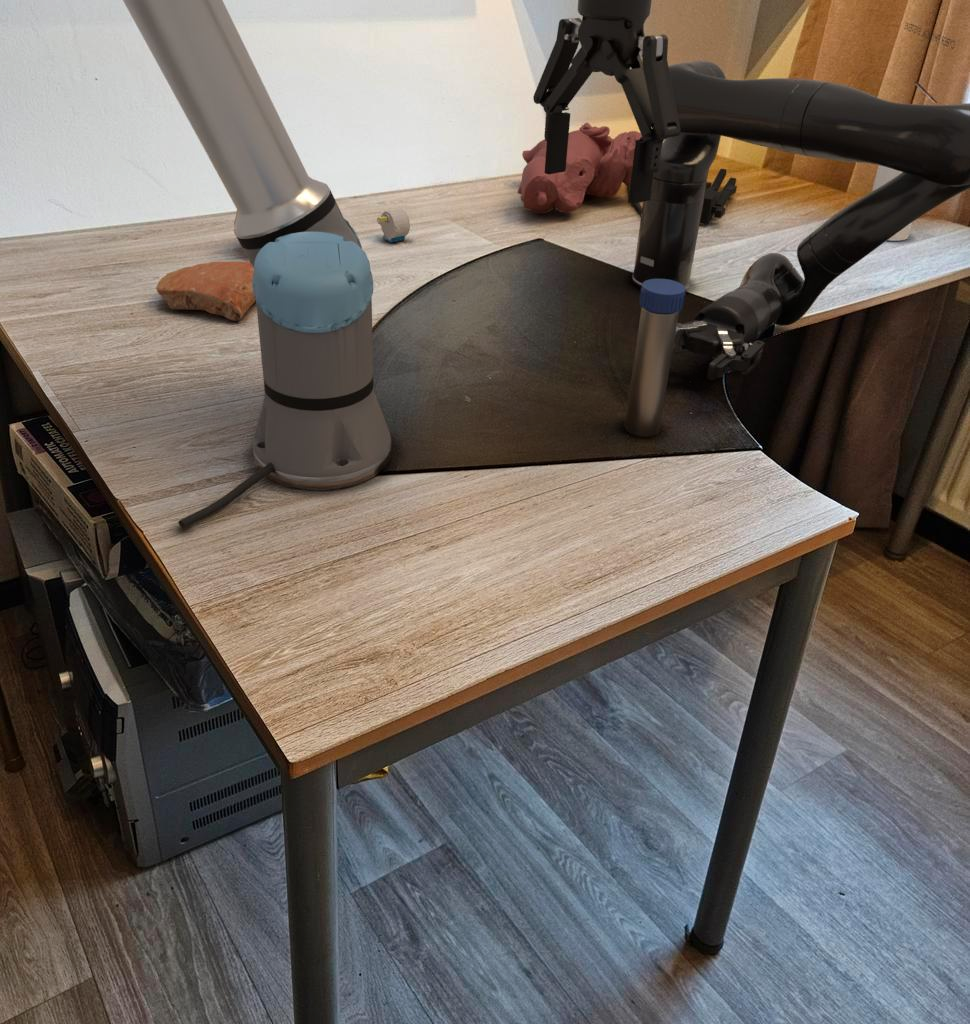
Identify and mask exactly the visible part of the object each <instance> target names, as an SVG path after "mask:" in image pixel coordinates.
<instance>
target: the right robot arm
mask: <svg viewBox="0 0 970 1024" xmlns="http://www.w3.org/2000/svg"><path fill="white" fill-rule="evenodd" d="M668 67H669V72H670V77H671V82H672V87H673V93H674V98H675V103H676V108H677V113H678V118H679V124H680V129H681V132H680V134H679V136H676V137H671V138H667V139H665V140H664V141H663V143H662V149H661V157H660V164H659V168H658V171H657V172H654V175H653V182H652V189H651V197H650V200H649V201H645V202H642V205H641V204H640V203H636V204H633V205H634V206H635V208H636V210H637V211H638V212H639V214H640V222H639V228H638V229H639V230H638V236H637V245H636V252H635V258H634V265H633V272H632V275H631V281H632V283H633V284H634V285H635V286H636V287H638V288H640V289H641V288H642V283H643V282H644V281H646V280H650V279H668V280H673V281H676V282H679V283H681V284H682V285H684V286H685V288H686V290H688V289H689V288H690V285H691V276H692V270H693V264H694V259H695V254H696V249H697V248H696V247H697V242H698V235H699V231H700V225H701V224H700V218H701V212H702V207H703V201H704V194H705V188H706V182H708V176H709V172H710V168H711V166H712V165H713V163H714V161H715V159H716V157H717V154H718V151H719V146H720V143H721V137H725V138H730V139H734V140H737V141H741V142H744V143H748V144H751V145H754V146H755V145H756V146H759V147H763V148H768V149H772V150H773V149H774V150H777V151H781V152H785V153H790V154H795V155H799V156H803V157H809V158H814V159H815V158H816V159H823V160H828V161H829V160H830V161H836V162H838V161H839V162H845V163H846V162H847V163H861V164H870V165H871V164H872V165H876V166H879V165H880V166H884V167H888V168H891V169H894V170H898V171H901V172H902V173H901V174H899V175H898V176H896V177H895V178H893V179H892V180H890V181H889V182H887V183H886V184H884V185H882V186H881V187H879V188H877V189H876V190H874V191H872V190H871V191H870V192H869V193H867V194H865V195H864V196H862V197H860V198H858V199H857V200H855V201H853V202H851V203H850V204H848V205H846V206H845V207H844V208H842V209H841V210H839V211H838V212H836V213H835V214H834V215H832V216H831V217H830V218H828V219H827V220H826V221H825V222H824V223H822V224H821V225H820V226H819V227H817V228H816V229H814V231H812V232H811V233H810V234H808V235H807V236H806V237H805V238H803V239H802V240H801V242H800V243H798V245H797V247H796V258H797V261H798V263H799V266H800V269H801V271H802V274H803V277H802V275H801V274H800V273H799V272H798V271H797V269H796V267H795V266H794V265H793V264H792V262H791V261H790V260H789V258H788V257H787V256H786V255H783V254H782V253H777V252H770V253H767V254H764V255H762V256H761V257H759V258H758V259H756V260H754V262H753V263H752V264H751V265H750V267H748V269H747V271H746V272H745V274H744V276H743V277H742V279H741V281H740V284H739V286H738V287H737V288H735V289H734V290H732V291H729V292H727V293H725V294H722V296H720V297H719V298H717V299H716V300H715V301H712V302H711V303H709V304H708V305H707V306H705V307H704V308H702V309H701V310H700V311H699V312H698V313H697V315H696V316H695V317H694V318H693V320H691V321H686V322H684V323H679V322H677V328H676V334H675V340H674V346H673V352H672V353H674V354H684V353H685V354H686V353H693V354H698V355H699V354H700V355H702V356H704V357H706V358H710V359H712V361H710V363H709V365H708V367H707V374H706V380H710V381H715V379H720V378H722V377H724V375H726V374H730V373H732V372H733V371H737V374H738V375H739V376H748V375H749V374H750V373H751V372H752V371H753V370H754V368H756V366H757V365H759V363H760V362H761V359H762V355H763V352H764V347H765V342H764V341H762V340H758V339H759V338H760V337H761V336H762V334H763V333H764V332H765V331H767V330H768V329H769V328H770V327H772V326H773V325H775V326H778V327H786V326H791V325H793V324H795V323H797V322H798V321H799V320H800V319H802V318H803V317H804V316H805V315H806V313H807V312H808V311H809V310H810V309H811V307H812V306H813V305H814V303H815V302H816V301H817V299H818V298H819V296H820V295H821V294H822V293H823V292H824V290H825V289H826V288H827V287H828V286H829V285H830V284H832V282H833V281H835V280H836V279H837V278H838V277H840V276H841V275H842V274H843V273H845V272H847V270H849V269H850V268H852V267H853V266H855V264H857V263H859V262H860V261H861V260H863V259H864V258H865V257H866V256H868V255H869V254H870V253H873V251H875V250H876V249H877V248H879V247H880V246H881V245H883V244H884V243H886V242H887V241H889V240H888V239H889V238H891V237H892V236H894V235H895V234H896V233H898V232H899V231H900V230H902V229H903V228H905V227H906V226H907V225H909V224H910V223H912V222H915V221H916V220H917V219H919V218H921V217H922V216H923V215H925V214H927V213H928V212H930V211H932V210H933V209H935V208H937V207H938V206H939V205H941V204H943V203H945V202H946V201H948V200H950V199H952V198H954V197H955V196H957V195H959V194H961V193H963V192H965V191H967V190H969V189H970V102H969V103H968V102H967V103H965V102H964V103H957V104H918V103H902V102H895V101H890V100H886V99H882V98H880V97H878V96H875V95H873V94H870V93H868V92H867V91H863V90H861V89H858V88H855V87H852V86H849V85H845V84H840V83H837V82H830V81H823V80H817V79H808V78H792V77H791V78H790V77H787V78H785V77H784V78H783V77H782V78H781V77H779V78H777V77H775V78H773V77H772V78H756V79H755V78H753V79H729V78H728V79H727V77H726V75H725V73H724V71H723V69H722V68H721V67H720V66H719V65H718V64H716V63H715V62H713V61H708V60H696V61H695V60H694V61H688V62H687V61H686V62H679V63H674V64H670V65H668ZM667 126H668V125H667ZM627 191H628V192H629V191H630V186H627ZM912 224H913V223H912ZM681 341H682V343H683V344H681ZM740 354H741V355H740Z"/></svg>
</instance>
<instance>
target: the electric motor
mask: <svg viewBox="0 0 970 1024" xmlns="http://www.w3.org/2000/svg"><path fill="white" fill-rule="evenodd" d="M376 222H377V224H378V225H380V227H381V231H382V233H383V238H384V240H385V241H388V242H389V243H394V242H395V243H396V242H399V241H404V240H405V238H406V236H407V235H409V233H410V229H411V222H410V218H409V216H408V213H407V212H406V210H404V209H403V208H397V209H392V210H387V211H384V212H383V213H382V214H381V216H378V217H377V218H376Z"/></svg>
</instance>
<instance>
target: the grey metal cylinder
mask: <svg viewBox="0 0 970 1024" xmlns="http://www.w3.org/2000/svg"><path fill="white" fill-rule="evenodd" d="M679 315H680V311H679V312H676V313H669V314H664V313H656V312H651V311H648V310H646V309H644V308H642V307H641V308H640V315H639V323H638V324H639V325H638V330H637V337H636V343H635V349H634V357H633V358H634V359H633V365H632V372H631V379H630V384H629V392H628V397H627V398H628V400H627V407H626V414H625V420H624V429H625V431H626V432H627V433H628V434H630V435H632V436H634V437H638V438H652V437H655V436H657V435H658V434H659V433H660V429H661V424H662V416H663V410H664V405H665V399H666V393H667V387H668V381H669V375H670V368H671V363H672V357H673V353H674V352H673V346H674V340H675V334H676V328H677V323H679V322H678V320H679Z"/></svg>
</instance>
